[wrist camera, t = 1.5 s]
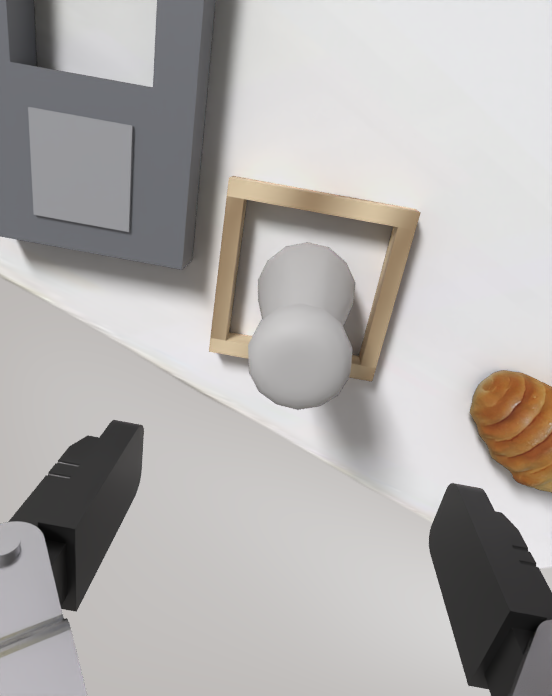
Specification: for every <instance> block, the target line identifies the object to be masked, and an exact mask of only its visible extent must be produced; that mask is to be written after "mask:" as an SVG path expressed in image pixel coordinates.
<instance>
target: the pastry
mask: <svg viewBox="0 0 552 696" xmlns="http://www.w3.org/2000/svg"><path fill="white" fill-rule="evenodd" d="M470 414H471V416H472V418H473V420H474V421H475V423H476V425H477V428H478V433H479V435H480V437H481V438H482V439H483V441H484V442H485V443H486V444H487V446H488V449H489V453H490V455H491V457H492V458H493V459H494V460H496V462H498V463H500V464H501V465H503V466H504V467H505V468H507V469H508V470H509V471H510V472H511V473H512V475H513V478H514V479H515V481H517V482H518V483H520V484H523V485H526V486H529V487H533V488H535V489H538V490H542V491H548V492H551V493H552V387H551V386H549V385H547V384H545V383H543V382H540V381H539V380H537V379H535V378H533V377H530V376H528V375H526V374H523V373H520V372H512V371H506V370H502V371H498V372H494V373H493V374H491V375H490V376H489V377H487V378H486V379H484V380H483V381H482V382H481V383H480V384H479V385H478V387H477V389H476V391H475V393H474V396H473V399H472V405H471V409H470Z"/></svg>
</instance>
